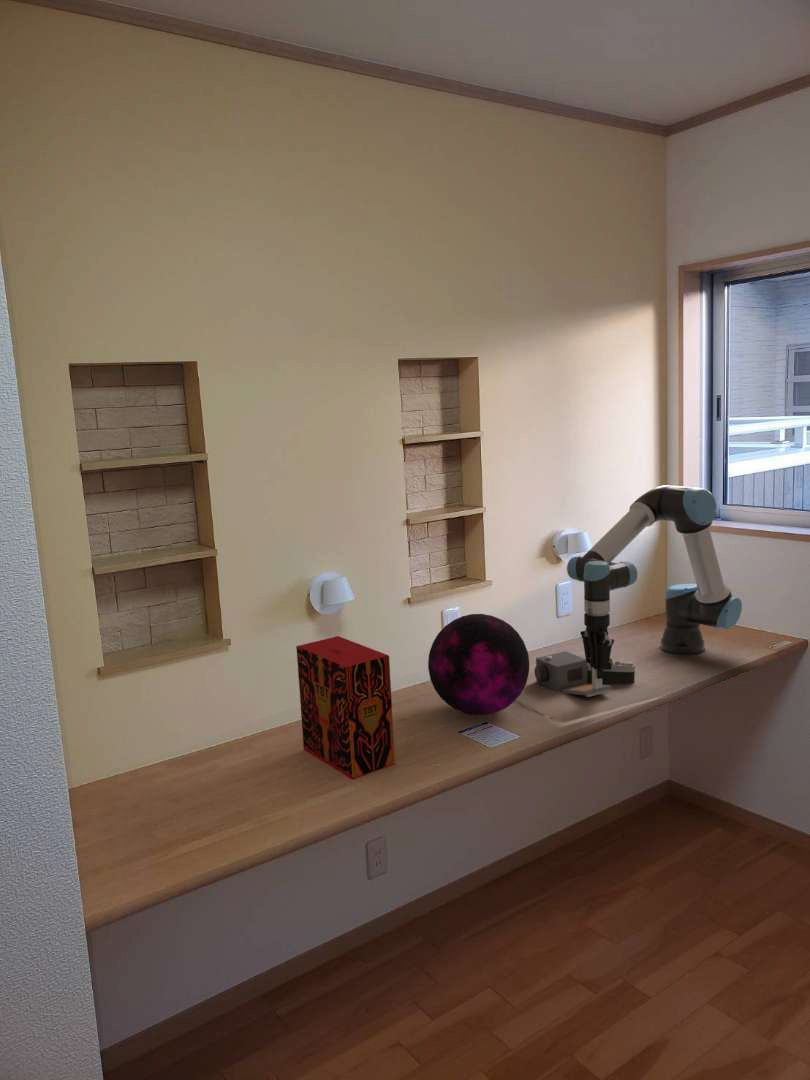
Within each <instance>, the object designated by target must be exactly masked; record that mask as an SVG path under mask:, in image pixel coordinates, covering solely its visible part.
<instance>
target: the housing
mask: <svg viewBox="0 0 810 1080" xmlns="http://www.w3.org/2000/svg"><path fill="white" fill-rule="evenodd" d="M535 665H536V666H535V668H534V676H535V679H536V683H538V684H541V685H543V686H545V687H547V688H550V689H551V690H553V691H556V692H562V691H561V689H565V688H570V687H574V686H577V685H581V684H585V683H587V662H586V658H584V657H581V656H579V655H576V654H575V653H574V654H573V653H571V652H569V651H560V652H557V653H552V654H547V655H543V656H540V657H536V658H535Z"/></svg>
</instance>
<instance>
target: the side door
mask: <svg viewBox="0 0 810 1080" xmlns="http://www.w3.org/2000/svg"><path fill="white" fill-rule="evenodd" d="M610 690H612V684H602V688H598V689H594V688H592V684H587V683H585V684H581V685H577V686H574V687H570V688H565V689H561V691H560V692H561V693H564V694H569V695H571V694H572V695H579V696H585V697H586V698H590V697H593V696H597V695H602V694H605V693H608V692H610Z"/></svg>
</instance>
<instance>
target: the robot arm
mask: <svg viewBox="0 0 810 1080" xmlns="http://www.w3.org/2000/svg"><path fill="white" fill-rule="evenodd" d="M716 510H717V502H716V498H715V497H714V495H713V494H712V492H711V491H709V490H708V489H706V488H702V487H698V486H681V485H680V486H679V485H671V484H667V485H666V484H665V485H660V486H657V487H655V488H652V489H650V490H648V491H646V492H645V493H643V494H642V495H641V496H639V497H638V498H636V500H635V501H633V502H632V503H631V505H629V510H628V512H627V513H626V514H625V515H623V516H622V517H621V518H620V519H619V521H617V522H616V524H614V525H613V527H612V528H610V529H609V530H608V531H607V532H606V533H605V534H604V535H603V536H602V537H601V538H600V539H599V540H598V541H597V542H596V543H595V544H593V546H592V547H591V548H589V550H588V551H587V552H586V553H585V554H584V555H583V556H580V555H579V556H572V557H571V558H570V559H569V560H568V561H567V565H566V572H567V575H568V576H569V578H571V580H574V581H578V582H581V583H582V582H583V587H584V590H583V591H584V594H583V595H584V597H583V601H584V602H583V603H584V609H583V611H584V614H583V619H584V622H583V623H584V626H585V630H582V631H580V637H581V638H582V645H583V650H584V657H585V659H586V662H587V663H589V664H590V666H591V675H592V688H594V689H598V688H602V685H603V684H602V678H603V668H606V667H608V665H609V659H610V658H611V655H612V646H613V645H614V643H615V640H614V638H610V636H609V631H608V628H609V626H610V624H611V623H610V622H611V619H610V618H611V617H610V616H611V615H610V612H611V605H610V603H611V597H610V594H611V593H610V592H611V591H614V590H619V589H623V588H627V587H629V586H631V585H632V586H633V584H635V583H636V581H637V579H638V570H637V567H636V565H634V563H632V562H630V561H620V562H613V561H614V560H615V558H616V557H618V555H620V554H621V552H623V551H624V549H626V547H628V546H629V545H630V544H631V542H632V541H633V540H634V539H635V538H637V537H638V536H639V534H641V532H643V531H644V529H646V528H647V527H652V526H653V525H654V524H655V523H656V522H658V521H669V522H670V521H671V522H673V523H674V527H675V529H676V531H677V533H678V534H681V535H682V537H683V539H684V543H685V548H686V552H687V555H688V558H689V563H690V566H691V569H692V573H693V576H694V580H695V583H681V584H680V583H679V584H674V585H671V586H669V587H667V589H666V591H665V628H664V631H663V633H662V637H661V639H660V648H661V649H662V651H665V652H668V653H672V654H679V655H690V654H692V655H693V654H698V653H701V652H703V651H704V650H705V648H706V647H705V644H706V643H705V639H704V638H703V634H702V631H701V628H700V627H701V626H700V625H702V626H708V627H711V628H716V629H719V630H721V629H723V630H730V629H732V628H733V627H735V625H736V624H737V623H738V621H739V620H740V617H741V614H742V611H743V610H742V609H743V606H742V605H743V603H742V601H741V599H740V598H739V597H738V596H736V595H732V591H731V588H730V586H729V585H728V584H727V583H725V582H724V579H723V576H722V571H721V567H720V563H719V560H718V555H717V553H716V549H715V545H714V542H713V541H714V540H713V538H712V534H711V530H710V527H711V526H712V524H713V521H714V520H715V517H716V514H717V512H716Z"/></svg>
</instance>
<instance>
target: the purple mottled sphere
mask: <svg viewBox="0 0 810 1080" xmlns="http://www.w3.org/2000/svg"><path fill="white" fill-rule="evenodd" d="M428 652H429V653H428V663H427V669H428V675H429V679H430V681H431V684H432V687H433V689H434V690H435V692H436V693H437V695H438V696H439V698H440V699H442V701H443V702H444V703H446V705H448V706H449V707H450V708H452V709H454V710H455V711H457V712H460V713H463V714H465V715H471V716H488V715H494V714H497V713H498V712H499V713H500V712H501V711H503V710H505V709H507V708H508V707H509V706H511V705H512V704H513V703H515V701H516V700H517V699H518V697H520V695H522V692H523V690H524V689H525V687H526V685H527V683H528V678H529V673H530V658H529V653H528V652H529V651H528V649H527V646H526V644H525V641H524V639H523V638H522V637H521V635H520V633H519V632H518V631H517V630H516V629H515V628H514V627H513V626H512V625H511V624H509V623H508V622H506V621H505V620H504V619H501V618H498V617H496V616H493V615H489V614H485V613H471V614H465V615H462V616H460V617H457V618H456V619H454V620H452V621H451V622H449V623H448V624H446V625H445V626H444V627H443V628H442V629H441V630H440V631H439V632H438V634H437V635H436V637H435V638H434V640H433V642H432V645H431V647H430V649H429V651H428Z"/></svg>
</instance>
